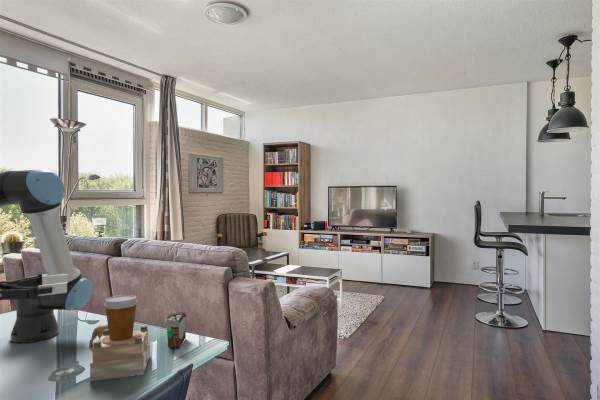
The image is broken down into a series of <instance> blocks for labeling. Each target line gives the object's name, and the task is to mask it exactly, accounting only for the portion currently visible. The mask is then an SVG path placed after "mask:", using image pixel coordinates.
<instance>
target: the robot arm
mask: <svg viewBox="0 0 600 400" xmlns="http://www.w3.org/2000/svg"><path fill="white" fill-rule="evenodd" d="M65 188H66V186H65V183H64V181H63V180H62V178H61V177H60V176H59V175H58V174H56V173H55V172H54V171H50V170H43V169H30V170H29V169H26V170H25V169H24V170H7V171H3V172H0V208H1V207H4V206H11V205H19V209H20V212H21V214H22V215H25V216H27V217H28V218H29V222H30V225H31V229H32V231H33V234H34V236H35V238H34V239H35V240H36V243H37V246H38V249H39V252H40V256H41V259H42V263H43V266H44V268H45V272H46V273H39V274H37V275H32V276H27V277H23V278H17V279H11V280H5V281H4V280H1V281H0V301H3V300H4V301H9V300H10V301H14V300H16V301H15V302H16V303H15V304H16V305H15V307H16V308H15V309H16V318H15V321H14V324H13V327H12V330H11V332H10V342H11V341H13V342H12V343H14V342H28V343H33V342H34V341H35V342H39V340H40V341H43V339H44V340H47V339H50V338H52V337H55V336H57V335H58V334H59V333H60V325H59V323H58V321H57V318H56V316H55V312H54V311H56V310H58V311H60V310H63V311H78V310H80V309H83V308H84V307H85V306H86V304H88V302H89V300H90V298H91V296H92V292H93V284H92V281H91V280H90V279H88V278H86V277H85V278H84V277H83V276H82V273H81V270H80V269H78V268H76V267H75V265H74V263H73V259H72V255H71V252H70V251H71V250H70V248H69V244H68V241H67V238H66V235H65V232H64V228H63V224H62V221H61V217H60V214H59V208H60V207H61V206H62V203H61V202H62V201H63V199H64V197H65V193H66V189H65ZM46 338H47V339H46Z"/></svg>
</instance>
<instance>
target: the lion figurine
mask: <svg viewBox="0 0 600 400" xmlns="http://www.w3.org/2000/svg"><path fill="white" fill-rule="evenodd" d="M105 329H108V323H107V324H104V325H98V326H96V327H95V328H94V329H93V332H92V334H91V337H90V338H91V339H90V340H89V349H93V343H94V341H95V340H96V338H97V337H98V340H99V339H100V338H101V337H102V335H103V330H105Z"/></svg>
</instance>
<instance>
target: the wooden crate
mask: <svg viewBox="0 0 600 400" xmlns="http://www.w3.org/2000/svg"><path fill="white" fill-rule="evenodd" d="M148 330H149V329H148V326H147V325H141V326H140V329H136V330H134V329H133V336H132V337H131V338H129V339H126V340H121V341H112V340H110V336H109V329H105V330H103V335H102V337H101V338H100V339H99V338H98V340H97V341H93V347H92V360H91V361H90V364H89V381H90V382H94V381H102V380H110V379H118V378H128V376H129V377H134V376H135V375H137V376H143V375H144V374H145V371H146V367H147V365H148V361H149V359H150V345H151V344H150V343H151V342H150V340H149V339H148V338H149V337H148V334H149V333H148Z"/></svg>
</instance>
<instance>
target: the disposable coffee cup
mask: <svg viewBox="0 0 600 400" xmlns="http://www.w3.org/2000/svg"><path fill="white" fill-rule="evenodd" d="M137 298H138V297H137V296H136V295H134V294H121V295H114V296H110V297H107V298H106V299H105V302H104V303H103V307H104V308H105V313H106V320H107V321H106V322H107V324H108V329H109V336H110V340H112V341H121V340H126V339H129V338H131V337H132V336H133V331H134V327H135V326H134V325H135V319H136V311H137V305H138V302H139V300H138V299H137Z"/></svg>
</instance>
